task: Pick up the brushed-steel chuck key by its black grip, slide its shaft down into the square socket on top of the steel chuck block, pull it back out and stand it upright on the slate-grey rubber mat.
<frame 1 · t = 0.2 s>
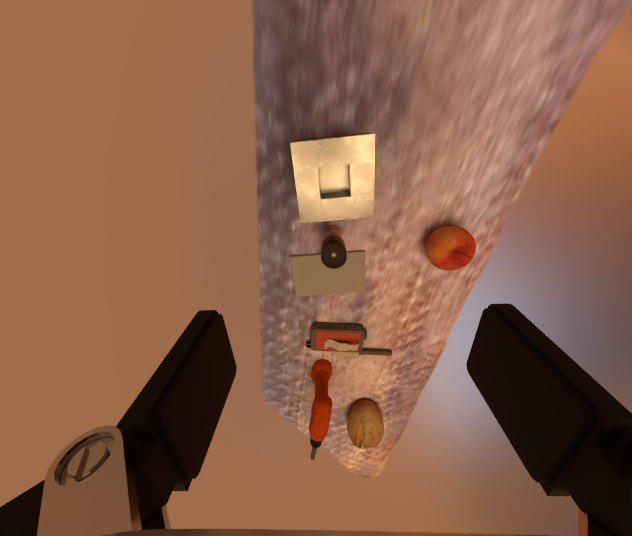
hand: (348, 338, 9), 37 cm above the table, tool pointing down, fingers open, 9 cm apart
apple: (439, 238, 46), on the table
chuck key: (332, 232, 46), on the table
walkie-talkie: (349, 335, 59), on the table
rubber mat: (328, 273, 50), on the table
toy drill: (319, 380, 66), on the table
chuck block: (333, 174, 41), on the table
bread roll: (363, 412, 72), on the table
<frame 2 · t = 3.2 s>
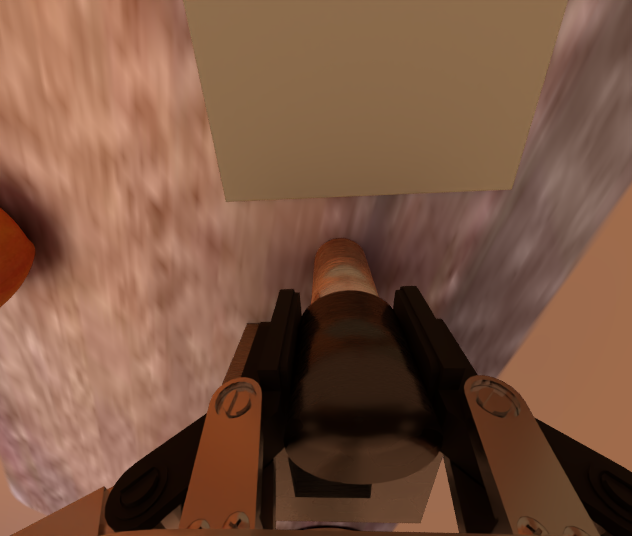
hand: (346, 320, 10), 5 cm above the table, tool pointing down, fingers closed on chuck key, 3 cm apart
apple: (7, 227, 15), on the table
chuck key: (339, 261, 15), on the table, touching gripper
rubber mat: (367, 87, 11), on the table
chuck block: (329, 378, 20), on the table
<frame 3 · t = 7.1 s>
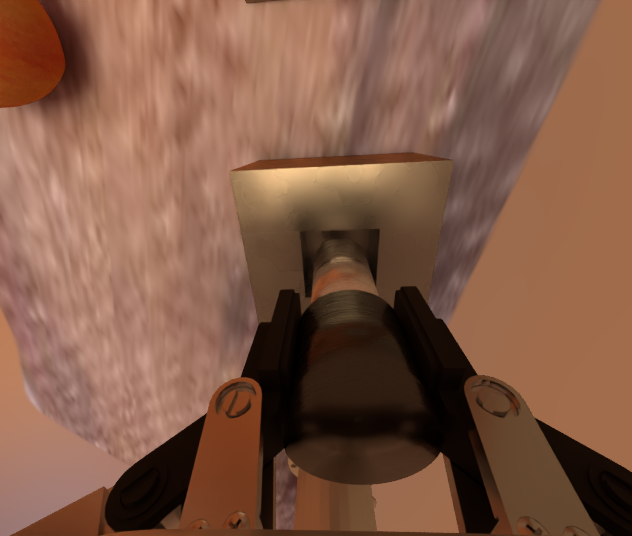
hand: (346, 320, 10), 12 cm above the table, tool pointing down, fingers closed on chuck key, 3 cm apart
apple: (39, 45, 16), on the table
chuck key: (339, 261, 15), point 6 cm above the table, touching gripper
chuck block: (335, 229, 21), on the table
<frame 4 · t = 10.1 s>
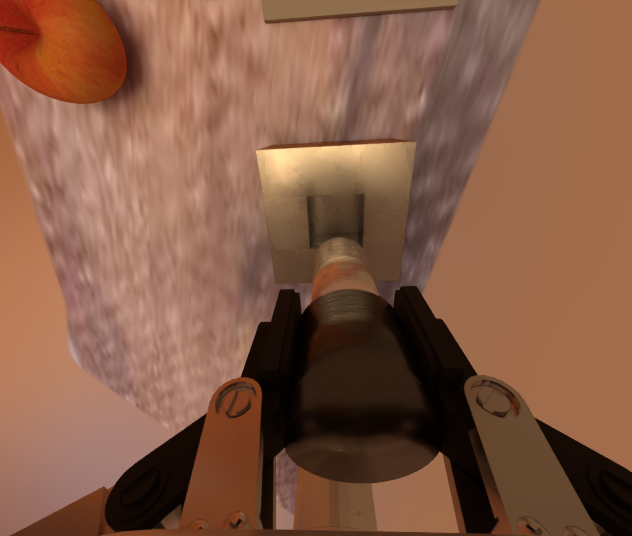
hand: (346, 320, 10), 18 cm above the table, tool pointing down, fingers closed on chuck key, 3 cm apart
apple: (105, 55, 21), on the table
chuck key: (339, 261, 15), point 13 cm above the table, touching gripper
chuck block: (333, 202, 26), on the table
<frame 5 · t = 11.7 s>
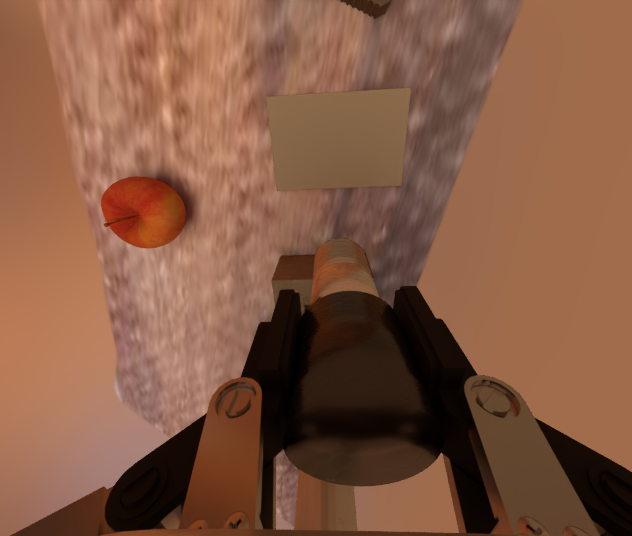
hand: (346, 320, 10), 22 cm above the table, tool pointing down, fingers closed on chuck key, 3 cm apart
apple: (168, 203, 31), on the table
chuck key: (339, 262, 15), point 17 cm above the table, touching gripper
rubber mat: (337, 143, 27), on the table
chuck block: (324, 290, 36), on the table
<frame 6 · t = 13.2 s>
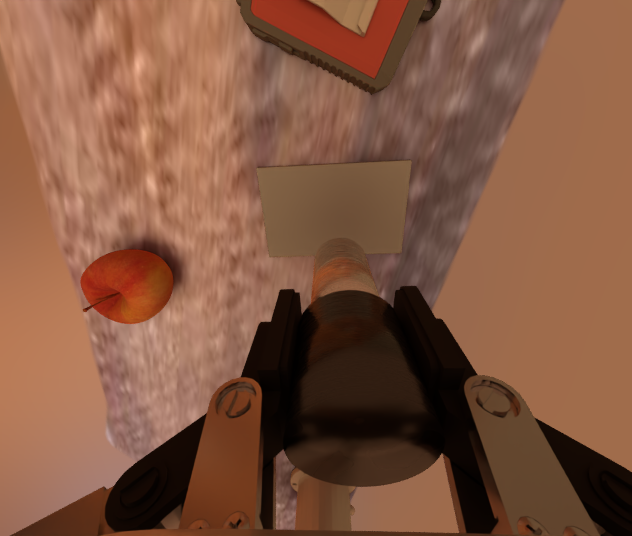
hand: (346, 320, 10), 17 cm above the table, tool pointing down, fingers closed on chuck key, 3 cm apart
apple: (155, 266, 29), on the table
chuck key: (339, 261, 15), point 12 cm above the table, touching gripper
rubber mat: (333, 211, 26), on the table
when the fingers open (7 cm above the table, at t = 15.2 s): chuck key stays where it is, point 1 cm above the table.
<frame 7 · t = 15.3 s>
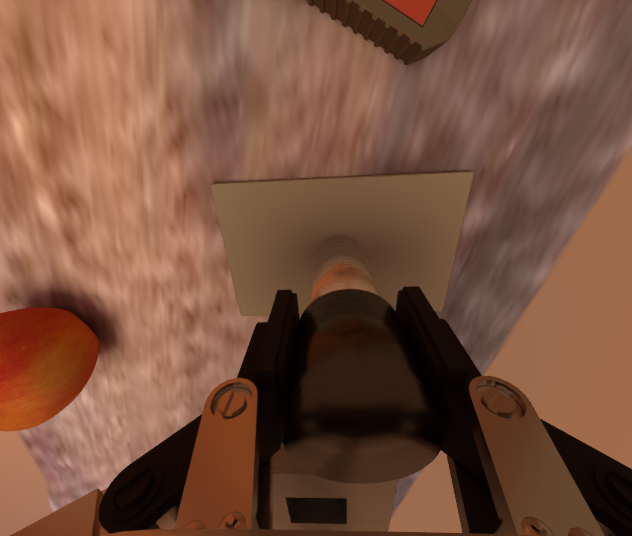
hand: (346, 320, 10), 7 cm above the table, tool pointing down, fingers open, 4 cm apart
apple: (77, 323, 20), on the table
chuck key: (340, 261, 15), point 1 cm above the table
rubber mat: (338, 251, 16), on the table
chuck block: (319, 424, 25), on the table
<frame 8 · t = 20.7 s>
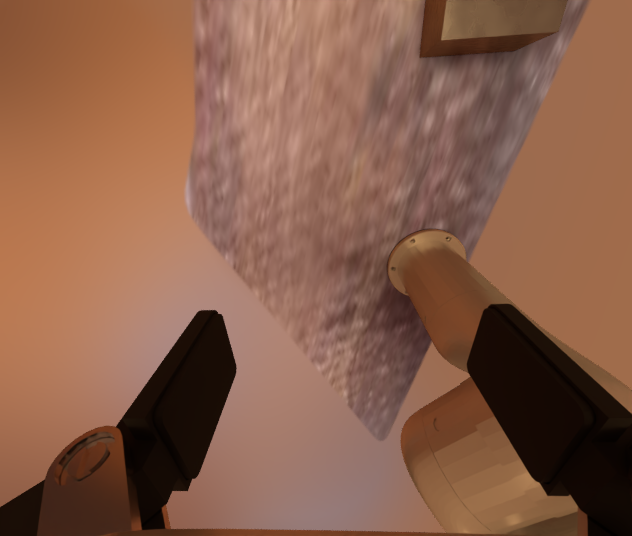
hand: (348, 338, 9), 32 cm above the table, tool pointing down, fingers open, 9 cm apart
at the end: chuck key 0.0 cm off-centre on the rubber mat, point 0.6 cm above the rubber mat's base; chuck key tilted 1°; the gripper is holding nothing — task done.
